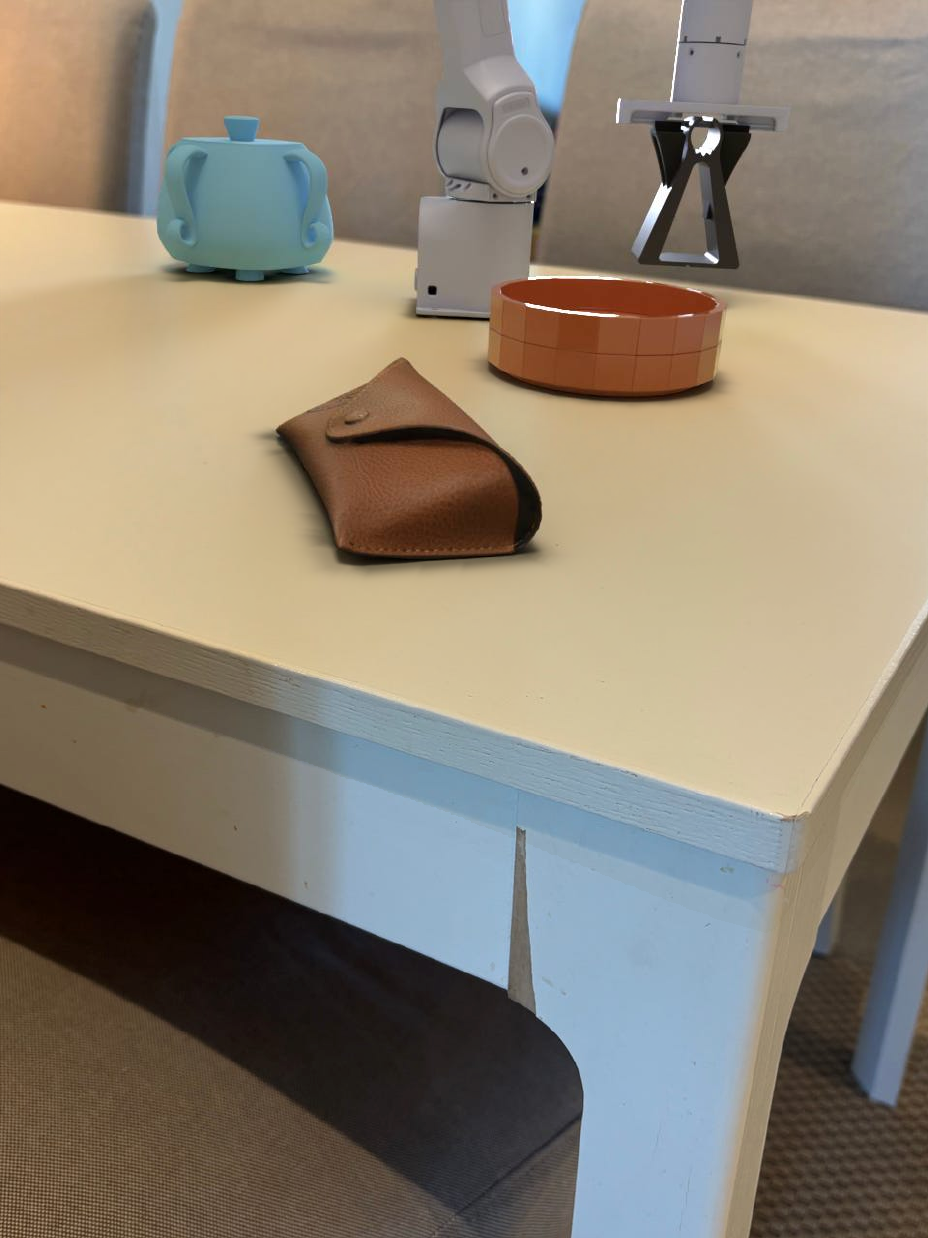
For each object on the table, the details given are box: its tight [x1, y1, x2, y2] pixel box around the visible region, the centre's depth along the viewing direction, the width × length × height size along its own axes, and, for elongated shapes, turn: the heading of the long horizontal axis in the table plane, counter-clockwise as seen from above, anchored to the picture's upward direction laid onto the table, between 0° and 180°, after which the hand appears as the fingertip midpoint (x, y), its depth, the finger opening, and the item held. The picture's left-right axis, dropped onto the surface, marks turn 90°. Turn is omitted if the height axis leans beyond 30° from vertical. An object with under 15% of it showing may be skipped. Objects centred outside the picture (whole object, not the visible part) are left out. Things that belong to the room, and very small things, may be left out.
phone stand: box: [630, 115, 740, 270], centre depth 94 cm, size 9×6×12 cm, turn 88°
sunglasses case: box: [275, 356, 543, 560], centre depth 49 cm, size 18×7×7 cm
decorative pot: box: [156, 115, 334, 282], centre depth 100 cm, size 16×16×14 cm
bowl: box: [487, 276, 728, 398], centre depth 71 cm, size 15×15×5 cm
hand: (689, 217), depth 95 cm, fingers closed on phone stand, 3 cm apart
